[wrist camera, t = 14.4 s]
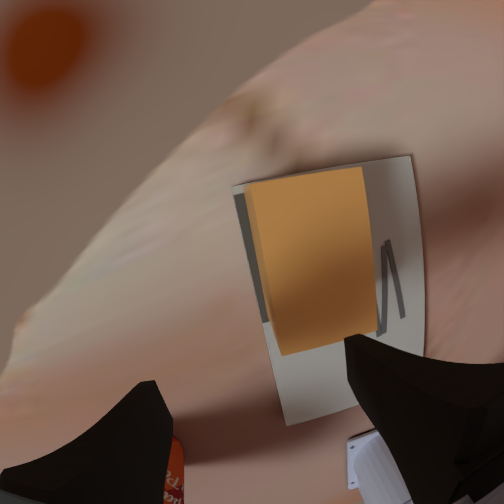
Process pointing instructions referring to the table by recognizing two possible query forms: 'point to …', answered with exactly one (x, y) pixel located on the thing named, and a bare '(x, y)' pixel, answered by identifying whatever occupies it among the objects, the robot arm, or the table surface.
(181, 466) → the coffee cup
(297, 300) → the block
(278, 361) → the board
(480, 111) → the table surface
